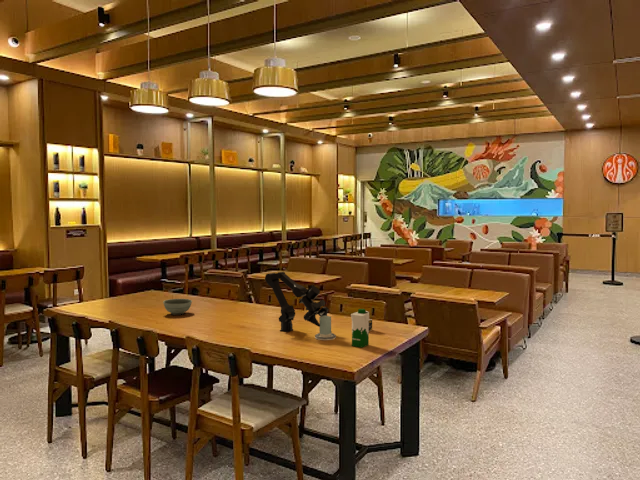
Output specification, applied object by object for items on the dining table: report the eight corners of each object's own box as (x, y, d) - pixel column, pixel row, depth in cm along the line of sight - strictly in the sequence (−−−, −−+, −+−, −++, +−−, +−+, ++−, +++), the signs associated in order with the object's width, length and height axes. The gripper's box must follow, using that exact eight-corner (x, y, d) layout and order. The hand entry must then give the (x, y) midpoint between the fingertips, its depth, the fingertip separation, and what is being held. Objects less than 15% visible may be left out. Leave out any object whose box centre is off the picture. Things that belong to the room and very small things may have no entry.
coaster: (311, 338, 287) (311, 336, 287) (320, 334, 298) (320, 331, 298) (330, 341, 282) (330, 338, 282) (339, 336, 293) (339, 333, 293)
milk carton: (370, 344, 273) (370, 309, 272) (363, 348, 266) (362, 312, 265) (357, 342, 278) (356, 307, 277) (349, 346, 271) (348, 310, 270)
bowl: (169, 311, 374) (168, 298, 373) (196, 311, 373) (195, 298, 373) (159, 317, 353) (158, 303, 353) (187, 316, 352) (187, 303, 352)
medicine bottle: (363, 332, 302) (363, 313, 301) (356, 330, 308) (356, 311, 307) (372, 330, 306) (372, 311, 306) (364, 328, 312) (364, 309, 311)
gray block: (319, 337, 290) (319, 317, 289) (324, 335, 294) (324, 315, 293) (326, 338, 287) (326, 318, 286) (331, 336, 291) (331, 316, 290)
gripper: (307, 298, 285) (322, 319, 279) (326, 293, 300) (340, 313, 294) (296, 309, 290) (311, 330, 284) (315, 305, 305) (330, 324, 299)
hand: (324, 324), depth 290 cm, fingers open, 9 cm apart
